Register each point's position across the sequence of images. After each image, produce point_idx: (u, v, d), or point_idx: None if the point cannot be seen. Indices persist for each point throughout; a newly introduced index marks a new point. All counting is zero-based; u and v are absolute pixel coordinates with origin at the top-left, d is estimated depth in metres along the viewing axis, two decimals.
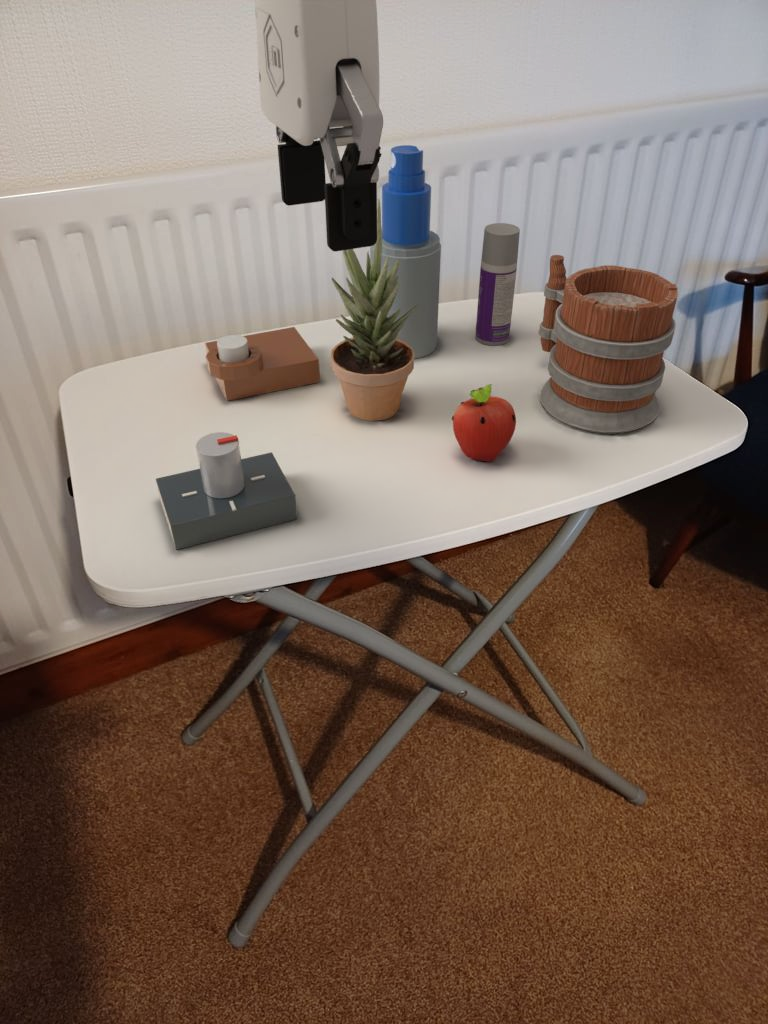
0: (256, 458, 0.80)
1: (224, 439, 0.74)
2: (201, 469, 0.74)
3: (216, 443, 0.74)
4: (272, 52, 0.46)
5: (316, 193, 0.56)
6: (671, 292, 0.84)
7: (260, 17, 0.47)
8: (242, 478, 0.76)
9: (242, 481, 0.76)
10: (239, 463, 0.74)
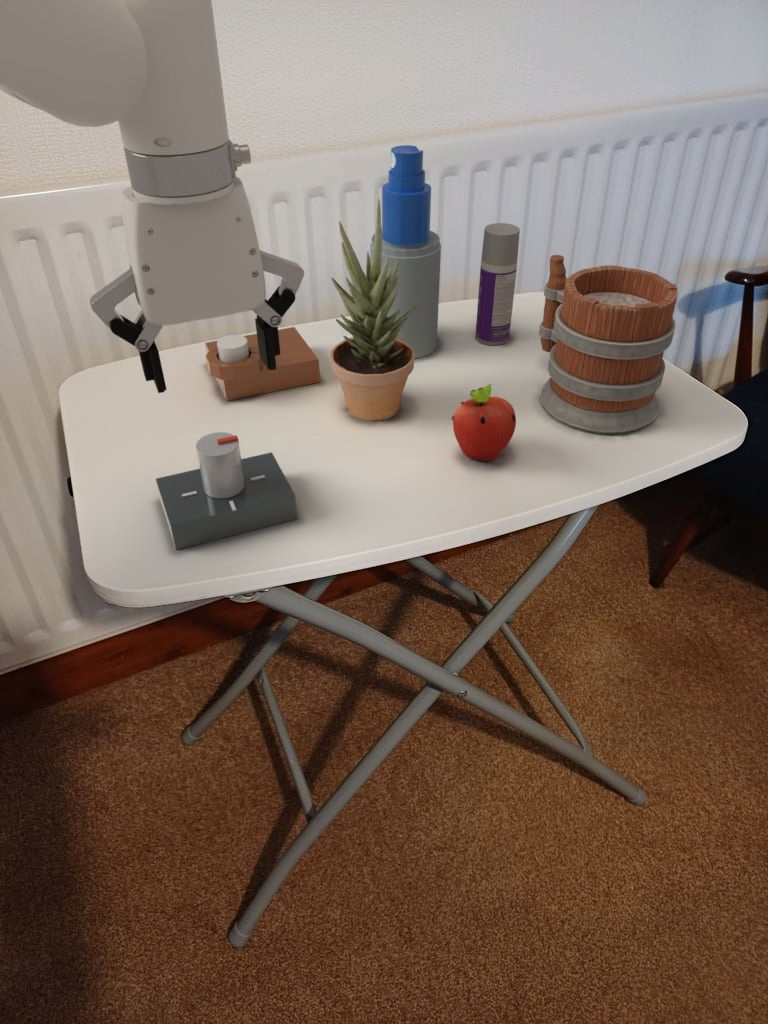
0: (256, 458, 0.80)
1: (224, 439, 0.74)
2: (201, 469, 0.74)
3: (216, 443, 0.74)
4: None
5: (265, 361, 0.69)
6: (671, 292, 0.84)
7: None
8: (242, 478, 0.76)
9: (242, 481, 0.76)
10: (239, 463, 0.74)
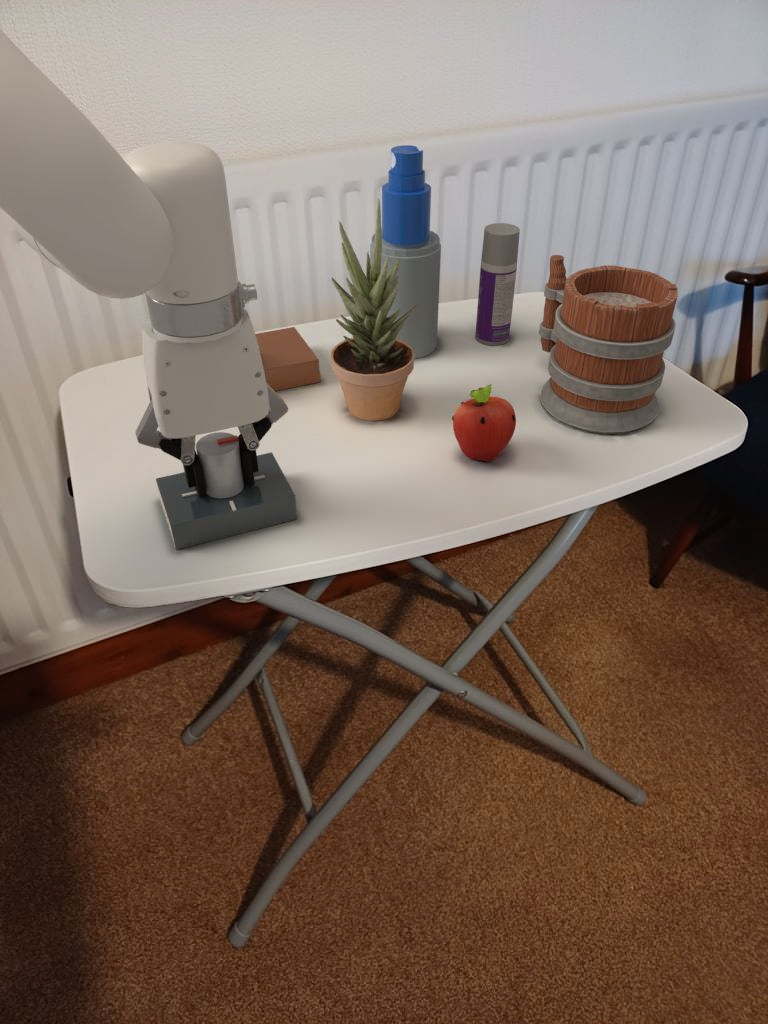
0: None
1: (224, 439, 0.74)
2: None
3: (216, 443, 0.74)
4: None
5: (245, 478, 0.76)
6: (671, 292, 0.84)
7: None
8: (242, 478, 0.76)
9: (242, 481, 0.76)
10: (239, 463, 0.74)
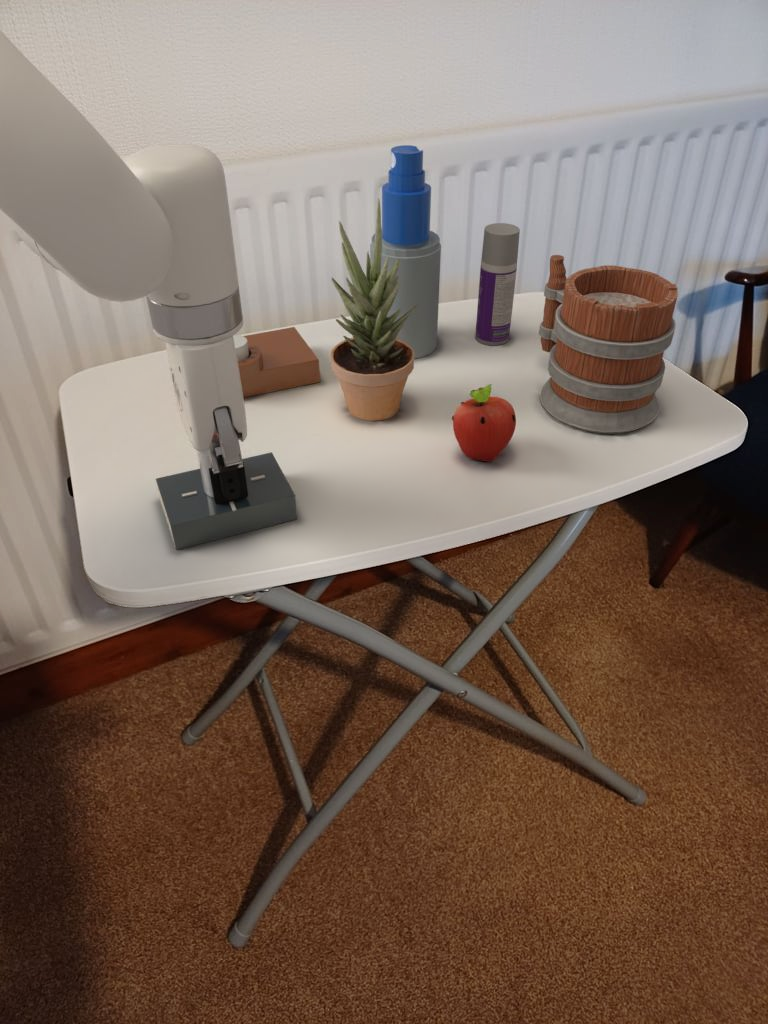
0: (256, 458, 0.80)
1: None
2: None
3: None
4: (175, 387, 0.69)
5: None
6: (671, 292, 0.84)
7: None
8: None
9: None
10: None
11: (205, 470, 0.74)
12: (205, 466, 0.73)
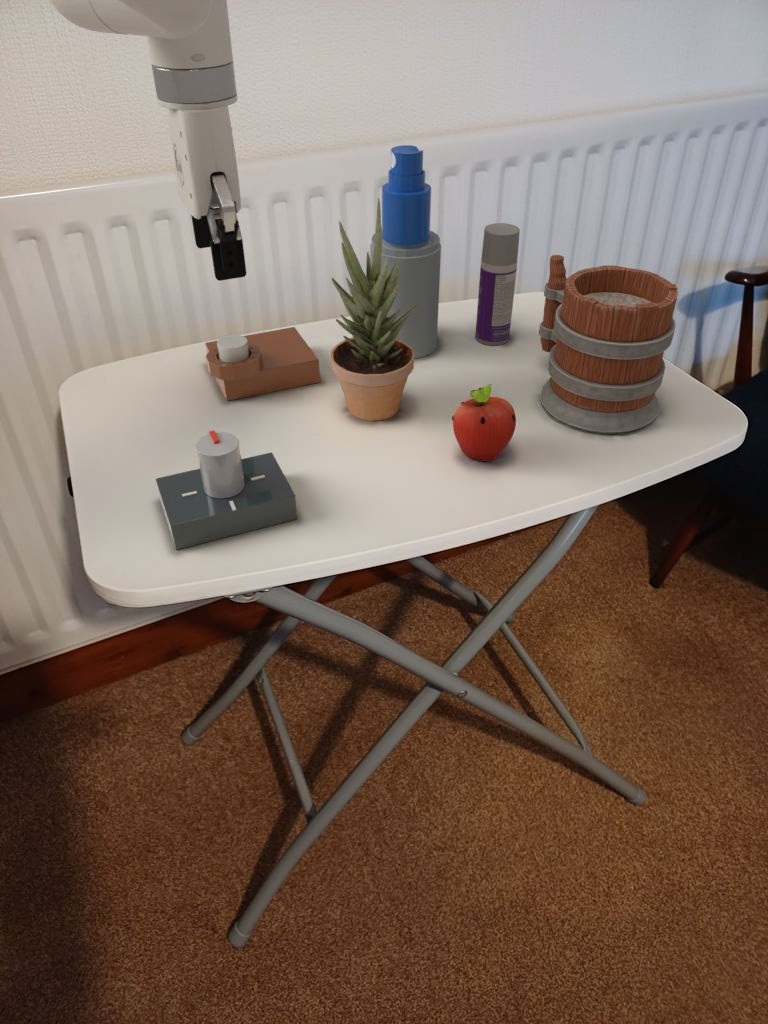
0: (256, 458, 0.80)
1: (215, 437, 0.74)
2: (230, 471, 0.74)
3: (216, 443, 0.74)
4: (177, 163, 0.78)
5: None
6: (671, 292, 0.84)
7: (171, 141, 0.78)
8: None
9: None
10: None
11: (205, 470, 0.74)
12: (205, 466, 0.73)
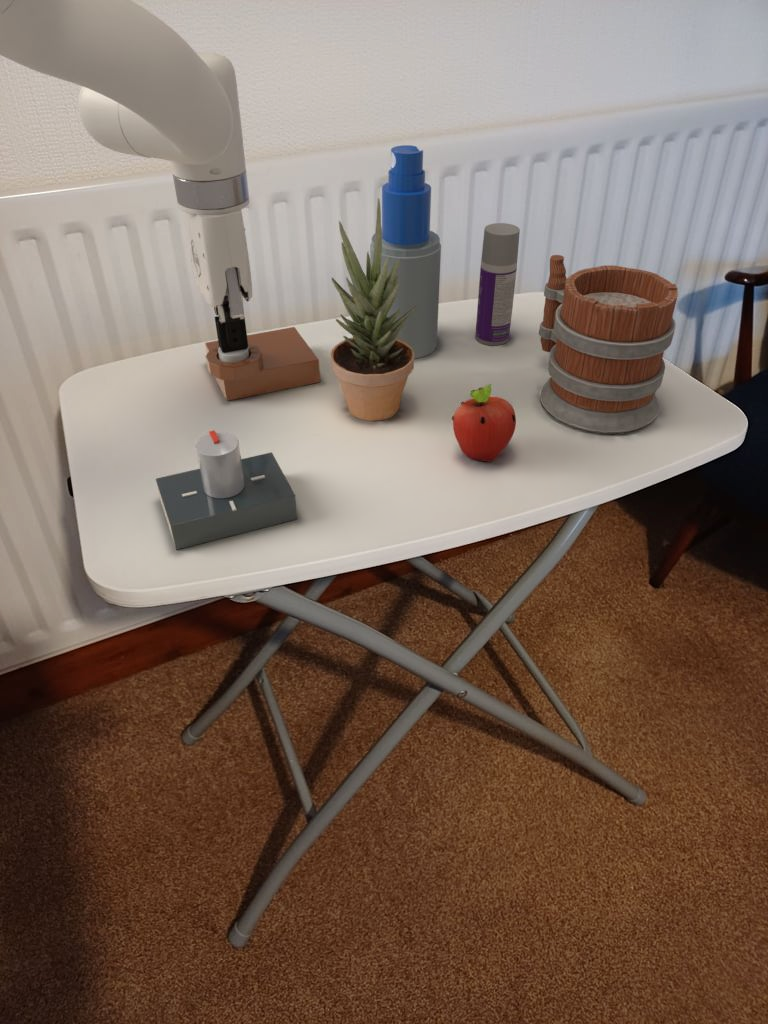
0: (256, 458, 0.80)
1: (215, 437, 0.74)
2: (230, 471, 0.74)
3: (216, 443, 0.74)
4: (195, 256, 0.86)
5: None
6: (671, 292, 0.84)
7: (189, 236, 0.87)
8: None
9: None
10: None
11: (205, 470, 0.74)
12: (205, 466, 0.73)
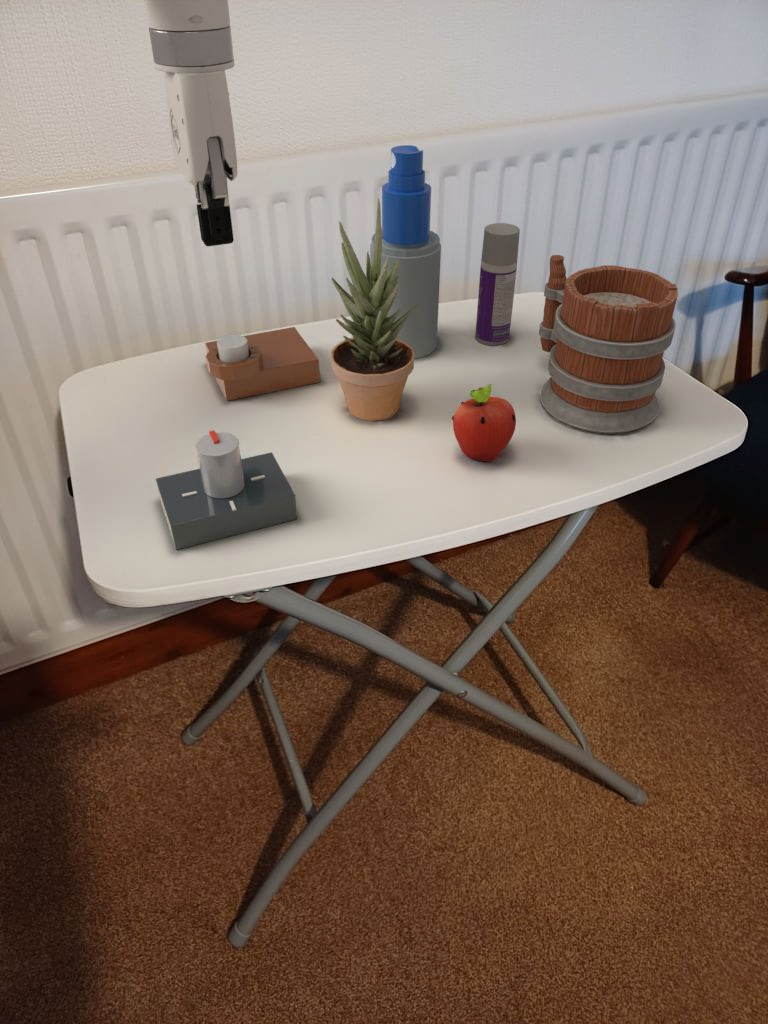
0: (256, 458, 0.80)
1: (215, 437, 0.74)
2: (230, 471, 0.74)
3: (216, 443, 0.74)
4: (174, 129, 0.78)
5: None
6: (671, 292, 0.84)
7: (168, 108, 0.78)
8: None
9: None
10: None
11: (205, 470, 0.74)
12: (205, 466, 0.73)
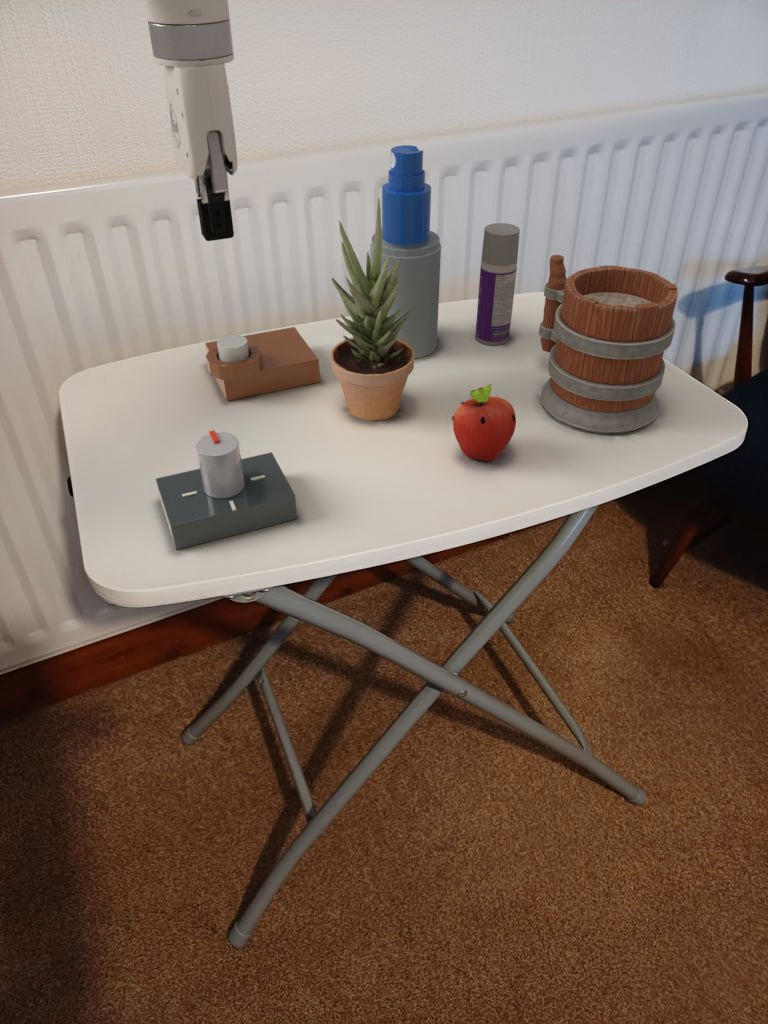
0: (256, 458, 0.80)
1: (215, 437, 0.74)
2: (230, 471, 0.74)
3: (216, 443, 0.74)
4: (174, 124, 0.77)
5: None
6: (671, 292, 0.84)
7: (167, 102, 0.78)
8: None
9: None
10: None
11: (205, 470, 0.74)
12: (205, 466, 0.73)
